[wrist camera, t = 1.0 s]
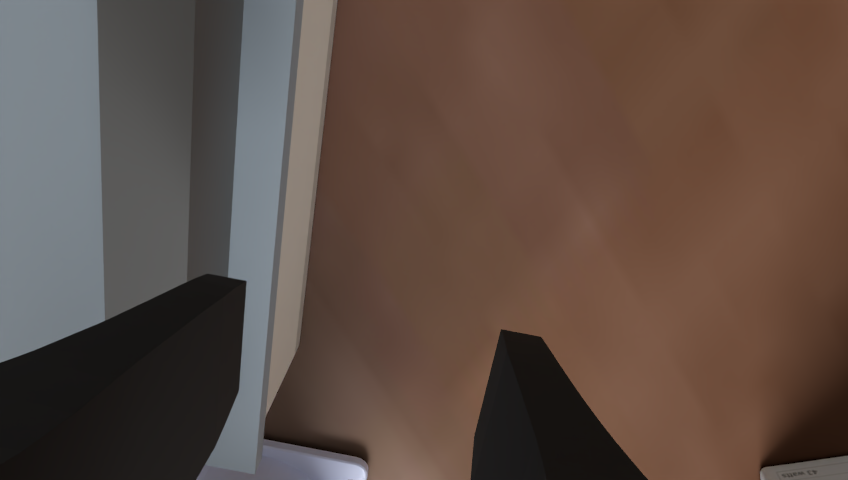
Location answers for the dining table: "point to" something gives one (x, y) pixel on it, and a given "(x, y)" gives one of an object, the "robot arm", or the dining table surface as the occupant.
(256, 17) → the lid
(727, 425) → the dining table surface
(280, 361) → the white square shallow box
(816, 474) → the light bulb box
